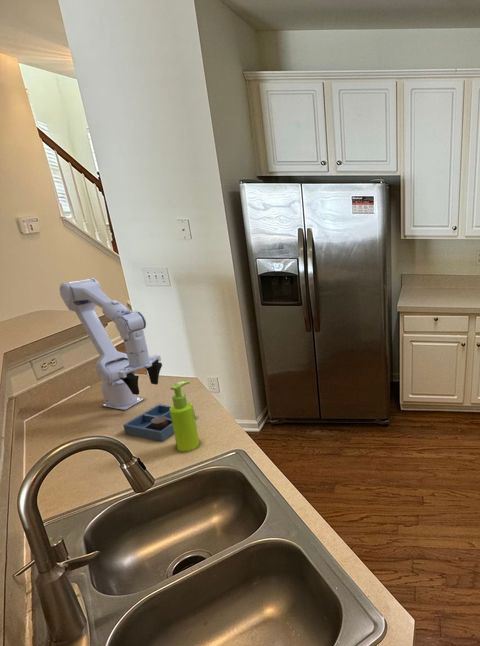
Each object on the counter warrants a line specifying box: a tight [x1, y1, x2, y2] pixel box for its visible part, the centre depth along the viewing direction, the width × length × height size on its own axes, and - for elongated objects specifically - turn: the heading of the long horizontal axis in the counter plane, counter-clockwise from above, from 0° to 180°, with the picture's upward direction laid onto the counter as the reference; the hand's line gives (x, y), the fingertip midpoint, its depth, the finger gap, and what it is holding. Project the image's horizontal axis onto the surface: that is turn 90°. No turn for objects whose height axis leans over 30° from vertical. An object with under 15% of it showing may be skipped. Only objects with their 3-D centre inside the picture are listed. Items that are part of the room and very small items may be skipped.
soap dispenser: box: [169, 380, 200, 452], centre depth 124 cm, size 6×7×20 cm
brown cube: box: [151, 416, 169, 431], centre depth 133 cm, size 4×4×4 cm
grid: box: [123, 403, 196, 442], centre depth 137 cm, size 14×14×3 cm
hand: (145, 388), depth 141 cm, fingers open, 7 cm apart
